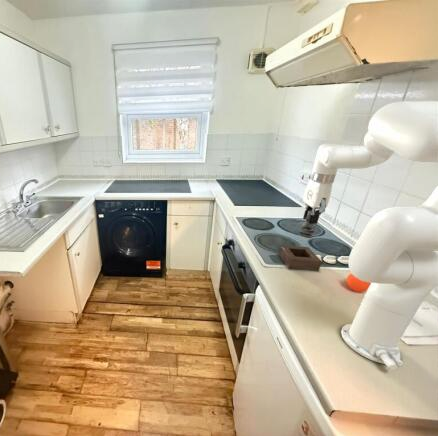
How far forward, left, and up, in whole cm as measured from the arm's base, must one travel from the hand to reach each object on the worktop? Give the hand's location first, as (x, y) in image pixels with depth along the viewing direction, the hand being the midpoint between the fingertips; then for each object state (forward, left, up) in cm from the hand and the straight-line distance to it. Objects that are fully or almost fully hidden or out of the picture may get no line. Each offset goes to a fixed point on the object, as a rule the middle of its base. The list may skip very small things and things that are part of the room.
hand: (309, 220), depth 98 cm
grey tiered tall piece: (0, 0, -7) cm, 7 cm away
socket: (+1, 0, -21) cm, 21 cm away
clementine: (-15, -14, -21) cm, 30 cm away
